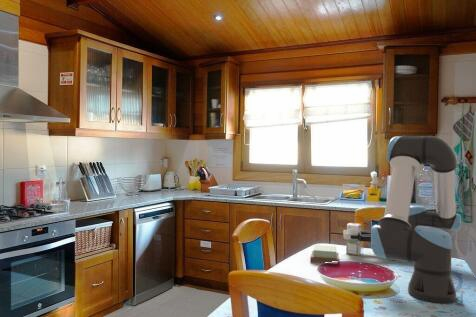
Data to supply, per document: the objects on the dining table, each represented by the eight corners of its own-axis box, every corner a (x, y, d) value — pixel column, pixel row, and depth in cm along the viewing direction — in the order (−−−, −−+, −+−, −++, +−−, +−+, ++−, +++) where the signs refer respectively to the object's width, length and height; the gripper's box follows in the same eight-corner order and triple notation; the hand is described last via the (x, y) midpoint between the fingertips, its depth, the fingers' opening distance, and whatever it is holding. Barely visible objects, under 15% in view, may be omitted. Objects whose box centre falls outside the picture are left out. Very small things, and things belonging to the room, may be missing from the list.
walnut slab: (338, 266, 175) (338, 259, 175) (310, 263, 178) (310, 257, 178) (338, 259, 187) (338, 252, 187) (312, 256, 190) (312, 250, 190)
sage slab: (336, 258, 177) (336, 251, 177) (313, 256, 179) (313, 250, 179) (336, 252, 187) (336, 246, 186) (314, 251, 189) (314, 244, 189)
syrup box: (361, 253, 196) (361, 223, 196) (357, 255, 191) (358, 225, 191) (349, 251, 199) (350, 222, 199) (345, 253, 194) (346, 223, 194)
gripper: (395, 250, 181) (343, 246, 186) (390, 241, 200) (343, 237, 206) (396, 234, 180) (343, 230, 186) (391, 226, 200) (343, 223, 205)
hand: (343, 234), depth 196 cm, fingers closed on syrup box, 7 cm apart
